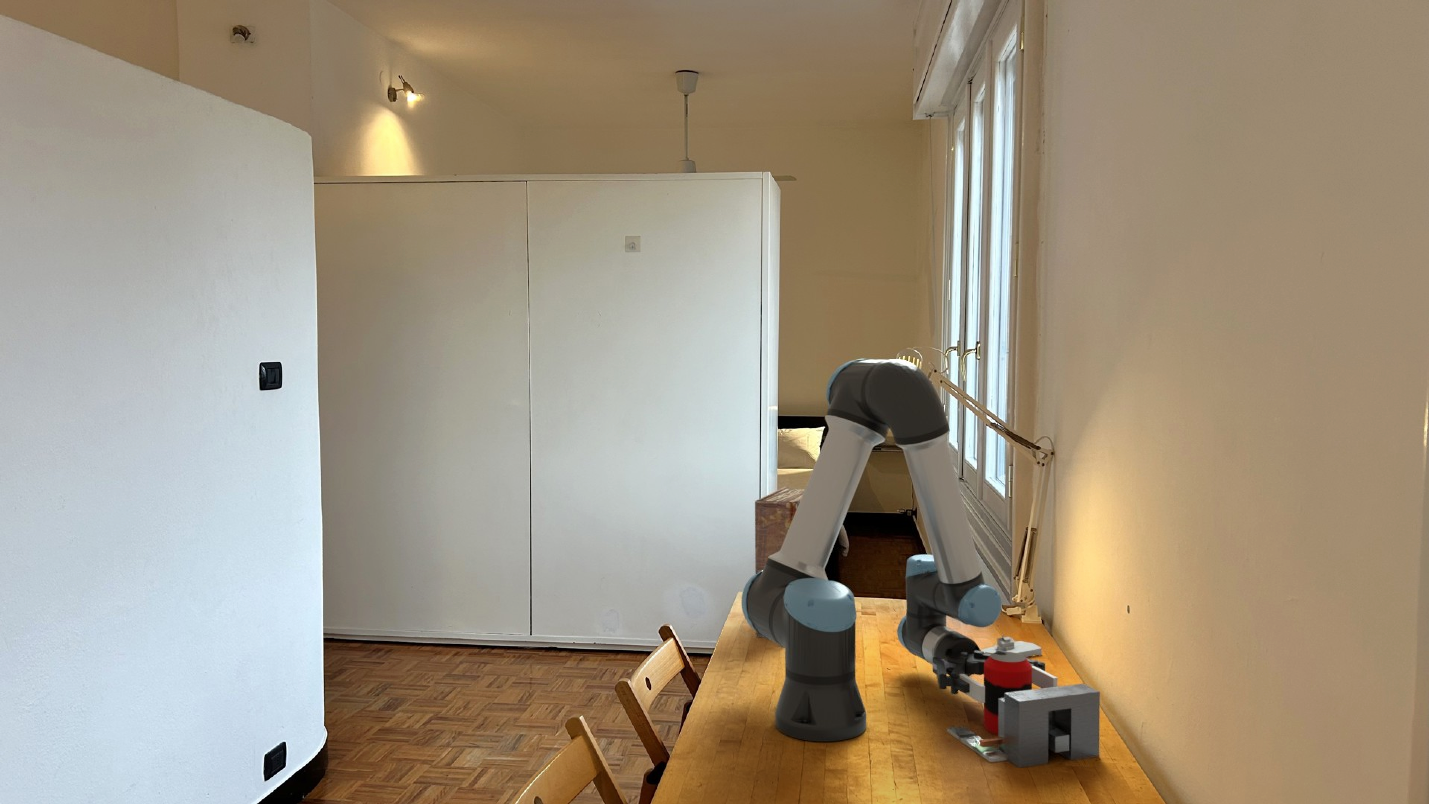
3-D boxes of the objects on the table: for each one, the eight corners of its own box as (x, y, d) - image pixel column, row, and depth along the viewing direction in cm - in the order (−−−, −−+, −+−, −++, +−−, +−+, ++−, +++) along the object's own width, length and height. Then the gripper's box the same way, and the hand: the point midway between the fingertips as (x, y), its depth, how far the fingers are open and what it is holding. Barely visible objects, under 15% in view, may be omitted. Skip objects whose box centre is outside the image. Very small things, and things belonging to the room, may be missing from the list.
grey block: (1003, 769, 149) (1003, 716, 149) (977, 752, 156) (977, 701, 155) (1098, 756, 154) (1099, 704, 153) (1070, 739, 160) (1070, 689, 160)
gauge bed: (1001, 770, 150) (1001, 703, 149) (947, 731, 165) (947, 671, 164) (1099, 756, 154) (1099, 691, 154) (1037, 719, 170) (1037, 661, 169)
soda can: (1011, 717, 171) (1012, 647, 170) (1041, 733, 164) (1042, 660, 163) (974, 724, 168) (974, 653, 167) (1002, 740, 161) (1003, 666, 160)
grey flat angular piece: (1003, 643, 216) (1003, 625, 216) (1048, 655, 207) (1048, 637, 207) (966, 653, 209) (966, 635, 209) (1012, 667, 200) (1012, 648, 200)
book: (787, 609, 244) (786, 485, 243) (824, 612, 241) (824, 487, 239) (755, 637, 220) (754, 501, 219) (796, 641, 217) (795, 502, 216)
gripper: (1011, 666, 186) (1085, 705, 166) (889, 680, 179) (950, 722, 159) (1012, 626, 186) (1085, 660, 165) (889, 638, 179) (950, 675, 159)
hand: (1019, 690), depth 162 cm, fingers open, 13 cm apart
